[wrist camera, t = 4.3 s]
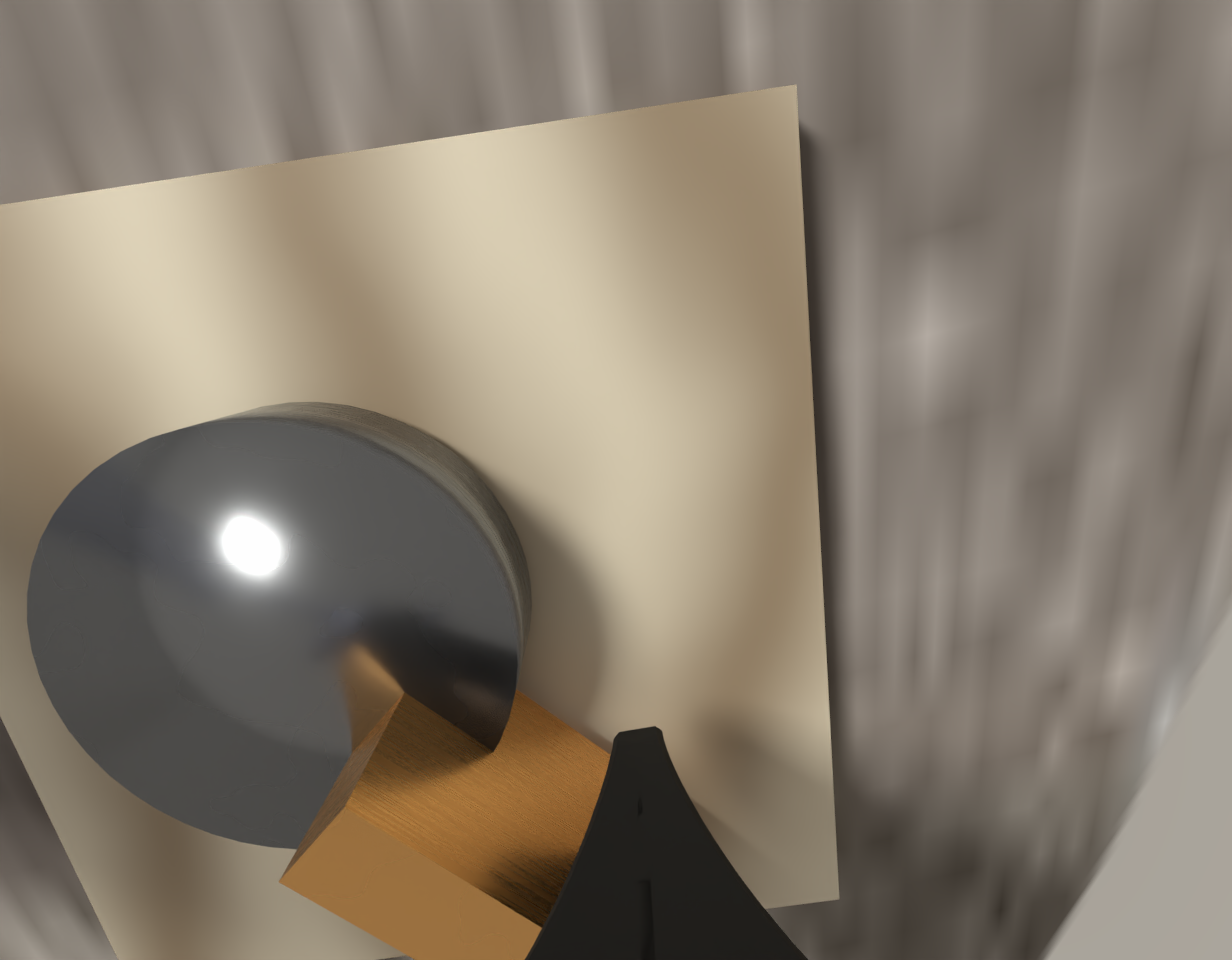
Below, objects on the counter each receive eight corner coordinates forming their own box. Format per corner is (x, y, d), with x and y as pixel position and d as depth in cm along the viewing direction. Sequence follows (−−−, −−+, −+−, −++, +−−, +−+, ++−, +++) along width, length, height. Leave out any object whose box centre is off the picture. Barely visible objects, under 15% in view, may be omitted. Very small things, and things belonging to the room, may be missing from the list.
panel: (161, 950, 16) (133, 991, 15) (-161, 246, 11) (-232, 239, 10) (825, 863, 16) (839, 899, 15) (779, 104, 11) (796, 84, 10)
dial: (55, 622, 12) (-266, 803, 8) (268, 309, 11) (23, 306, 6) (556, 928, 15) (536, 1203, 10) (786, 710, 13) (883, 918, 9)
